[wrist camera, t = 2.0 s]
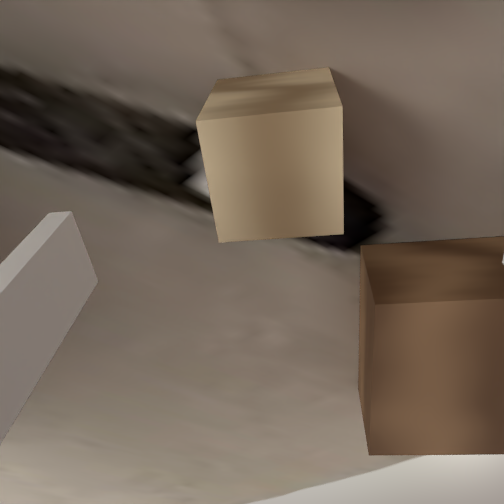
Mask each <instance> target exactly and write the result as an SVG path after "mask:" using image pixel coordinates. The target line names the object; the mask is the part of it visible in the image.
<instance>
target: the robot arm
mask: <svg viewBox="0 0 504 504" xmlns="http://www.w3.org/2000/svg"><path fill="white" fill-rule="evenodd" d="M502 263H503V265H504V256H503V260H502ZM97 283H98V279H97V276H96V273H95V271H94V268H93V266H92V263H91V260H90V258H89V255H88V253H87V250H86V247H85V245H84V242H83V239H82V237H81V234H80V232H79V229H78V226H77V224H76V221H75V219H74V216H73V213H72V211H67V212H53V213H48V214H47V215H46V216H45V217H44V219H43V220H42V221H41V222H40V223H39V224H38V225H37V226H36V227H35V228H34V229H33V230H32V231H31V232H30V233H29V234H28V235H27V237H26V238H25V239H24V240H23V241H22V242H21V243H20V244H19V245H18V246H17V247H16V248H15V249H14V250H13V251H12V252H11V253H10V254H9V256H8V257H7V258H6V259H5V260H4V261H3V262H2V263H1V264H0V444H1V443H2V441H3V439H4V438H5V436H6V434H7V433H8V431H9V429H10V428H11V426H12V424H13V423H14V421H15V419H16V418H17V416H18V414H19V413H20V411H21V409H22V408H23V406H24V404H25V403H26V401H27V399H28V398H29V396H30V394H31V393H32V391H33V389H34V388H35V386H36V384H37V383H38V381H39V379H40V378H41V376H42V374H43V373H44V371H45V369H46V368H47V366H48V364H49V363H50V361H51V359H52V358H53V356H54V354H55V353H56V351H57V349H58V348H59V346H60V344H61V343H62V341H63V339H64V338H65V336H66V334H67V333H68V331H69V329H70V328H71V326H72V325H73V323H74V321H75V320H76V318H77V316H78V315H79V313H80V311H81V310H82V308H83V306H84V305H85V303H86V301H87V300H88V298H89V296H90V295H91V293H92V291H93V290H94V288H95V286H96V285H97Z"/></svg>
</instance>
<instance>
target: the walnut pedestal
mask: <svg viewBox="0 0 504 504" xmlns="http://www.w3.org/2000/svg"><path fill="white" fill-rule="evenodd" d="M503 256H504V236H501V237H485V238H469V239H454V240H438V241H422V242H406V243H390V244H374V245H361V254H360V316H359V378H358V390H359V396H360V402H361V408H362V415H363V421H364V427H365V433H366V440H367V446H368V452H369V455H467V454H468V455H469V454H504V265H503V263H502V260H503Z"/></svg>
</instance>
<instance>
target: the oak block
mask: <svg viewBox="0 0 504 504" xmlns="http://www.w3.org/2000/svg"><path fill="white" fill-rule="evenodd" d="M196 125H197V130H198V136H199V141H200V146H201V151H202V157H203V162H204V167H205V172H206V178H207V183H208V188H209V193H210V199H211V204H212V209H213V214H214V220H215V225H216V230H217V235H218V241H219V243H220V242H234V241H249V240H264V239H279V238H293V237H308V236H323V235H338V234H344V204H343V106H342V103H341V100H340V97H339V95H338V92H337V89H336V86H335V83H334V81H333V78H332V75H331V72H330V70H329V67H327V68H318V69H309V70H300V71H291V72H282V73H273V74H264V75H255V76H246V77H237V78H228V79H219V80H217V82H216V84H215V85H214V87H213V89H212V91H211V93H210V95H209V97H208V99H207V101H206V103H205V104H204V106H203V108H202V110H201V112H200V114H199V116H198V118H197V120H196Z"/></svg>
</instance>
